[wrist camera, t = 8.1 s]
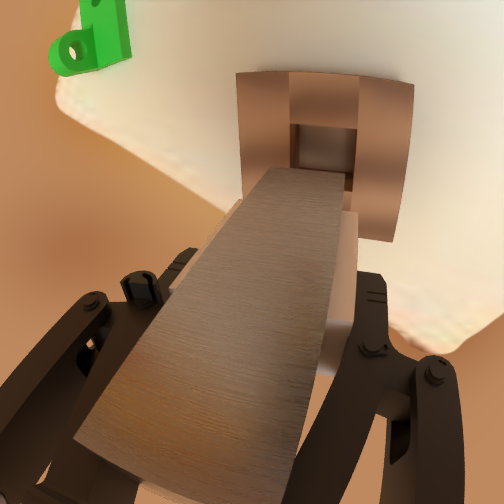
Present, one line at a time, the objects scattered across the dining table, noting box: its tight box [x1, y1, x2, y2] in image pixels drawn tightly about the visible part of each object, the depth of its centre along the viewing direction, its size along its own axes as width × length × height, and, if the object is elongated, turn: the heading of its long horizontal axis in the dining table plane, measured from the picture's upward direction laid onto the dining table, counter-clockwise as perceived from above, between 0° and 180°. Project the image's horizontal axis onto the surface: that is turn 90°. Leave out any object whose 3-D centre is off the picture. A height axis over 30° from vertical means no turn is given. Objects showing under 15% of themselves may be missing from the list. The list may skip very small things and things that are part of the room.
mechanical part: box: [49, 0, 132, 77], centre depth 23 cm, size 12×6×8 cm, turn 7°
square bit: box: [73, 167, 345, 504], centre depth 11 cm, size 4×4×15 cm
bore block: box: [236, 71, 414, 242], centre depth 26 cm, size 14×14×6 cm
